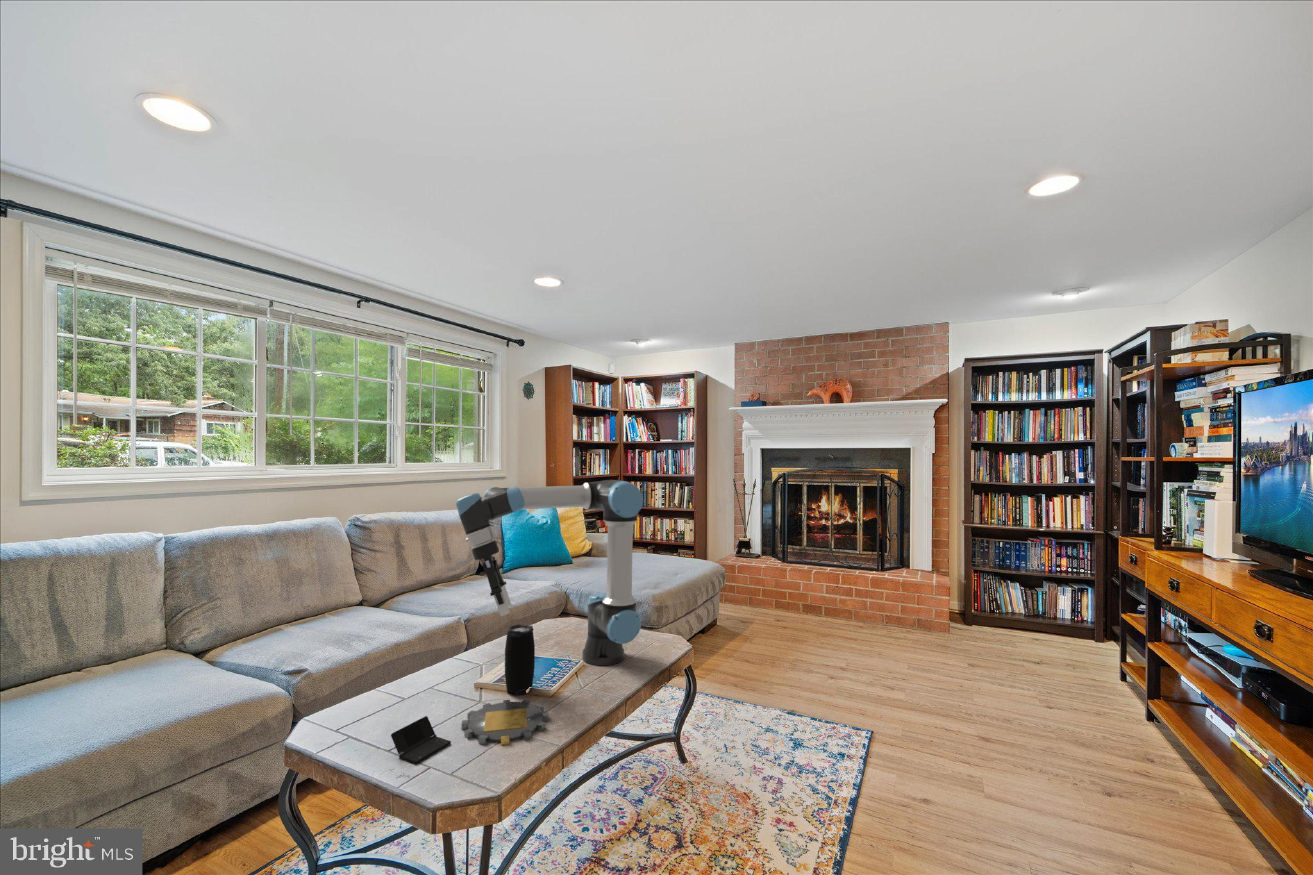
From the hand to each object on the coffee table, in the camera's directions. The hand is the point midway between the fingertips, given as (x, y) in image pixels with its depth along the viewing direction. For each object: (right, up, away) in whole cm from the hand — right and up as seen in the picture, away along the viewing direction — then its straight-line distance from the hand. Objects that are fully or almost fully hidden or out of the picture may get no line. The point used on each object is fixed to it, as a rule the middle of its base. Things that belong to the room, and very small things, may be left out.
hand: (506, 610), depth 172 cm
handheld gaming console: (-14, -26, -30) cm, 42 cm away
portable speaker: (+3, -27, +6) cm, 28 cm away
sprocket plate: (+4, -26, -16) cm, 31 cm away
